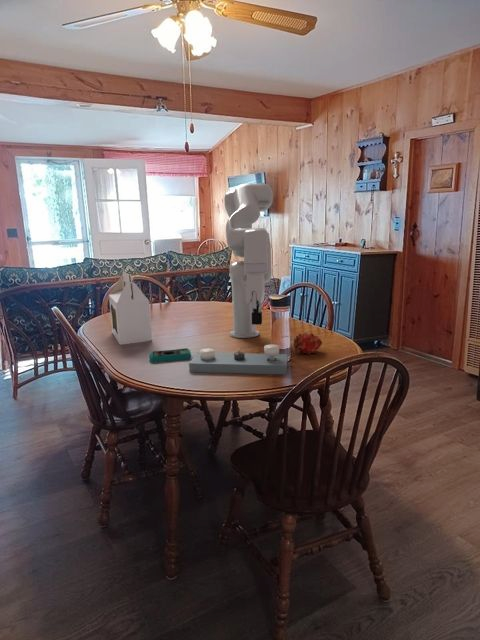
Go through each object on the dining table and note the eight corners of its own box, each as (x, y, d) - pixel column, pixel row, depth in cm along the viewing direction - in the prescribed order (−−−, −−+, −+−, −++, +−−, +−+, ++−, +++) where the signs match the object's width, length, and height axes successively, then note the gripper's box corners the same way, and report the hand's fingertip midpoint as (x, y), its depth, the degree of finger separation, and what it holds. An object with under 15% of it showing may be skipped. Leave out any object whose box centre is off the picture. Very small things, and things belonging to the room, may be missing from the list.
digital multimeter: (149, 358, 168) (148, 350, 167) (189, 354, 171) (189, 347, 170) (150, 364, 161) (149, 356, 160) (191, 360, 164) (191, 352, 163)
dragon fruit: (290, 358, 167) (318, 359, 171) (300, 350, 160) (330, 351, 164) (286, 337, 170) (314, 338, 175) (296, 328, 163) (325, 329, 167)
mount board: (197, 360, 162) (197, 352, 162) (287, 362, 158) (287, 354, 157) (189, 371, 151) (189, 363, 150) (285, 374, 146) (285, 365, 145)
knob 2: (265, 359, 155) (264, 344, 154) (279, 360, 154) (279, 344, 153) (263, 364, 150) (263, 348, 149) (278, 364, 149) (278, 348, 148)
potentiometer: (234, 356, 156) (234, 347, 155) (245, 357, 155) (245, 347, 154) (233, 360, 152) (233, 350, 151) (243, 360, 152) (243, 350, 151)
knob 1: (202, 363, 159) (201, 348, 157) (216, 363, 158) (215, 348, 157) (199, 368, 154) (198, 352, 152) (213, 368, 153) (213, 352, 152)
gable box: (152, 341, 189) (147, 274, 183) (120, 345, 184) (113, 276, 178) (141, 329, 209) (136, 268, 203) (112, 333, 204) (106, 271, 198)
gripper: (248, 266, 153) (249, 318, 157) (240, 271, 139) (241, 329, 143) (270, 265, 152) (270, 319, 156) (264, 271, 138) (265, 329, 142)
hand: (256, 323), depth 150 cm, fingers closed
